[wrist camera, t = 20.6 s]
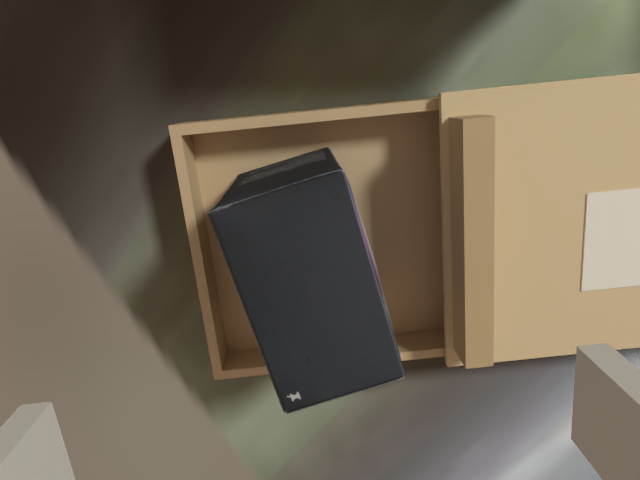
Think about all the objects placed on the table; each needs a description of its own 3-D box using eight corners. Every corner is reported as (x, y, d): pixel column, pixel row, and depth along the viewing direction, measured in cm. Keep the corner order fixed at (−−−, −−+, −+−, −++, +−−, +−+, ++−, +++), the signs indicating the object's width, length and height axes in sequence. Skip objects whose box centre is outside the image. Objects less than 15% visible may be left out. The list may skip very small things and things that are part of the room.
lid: (438, 92, 26) (454, 92, 24) (810, 55, 27) (870, 50, 24) (445, 363, 31) (459, 389, 28) (761, 330, 31) (805, 353, 29)
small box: (379, 295, 33) (414, 383, 23) (287, 322, 33) (280, 421, 23) (333, 142, 30) (349, 165, 20) (232, 174, 30) (198, 213, 20)
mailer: (183, 122, 30) (168, 125, 27) (505, 89, 30) (530, 89, 27) (222, 352, 35) (214, 380, 31) (502, 323, 35) (523, 348, 31)
